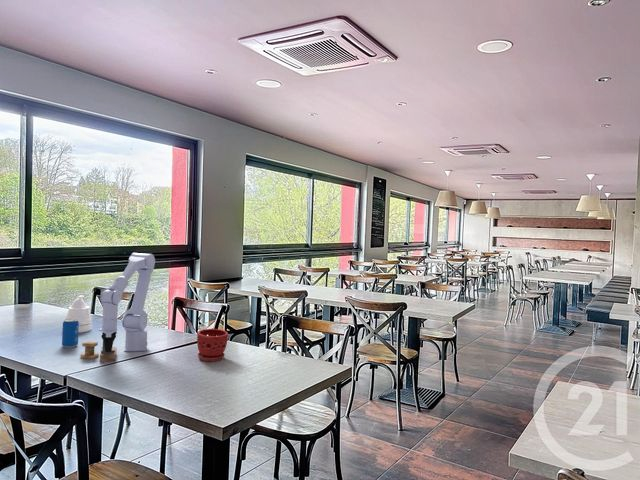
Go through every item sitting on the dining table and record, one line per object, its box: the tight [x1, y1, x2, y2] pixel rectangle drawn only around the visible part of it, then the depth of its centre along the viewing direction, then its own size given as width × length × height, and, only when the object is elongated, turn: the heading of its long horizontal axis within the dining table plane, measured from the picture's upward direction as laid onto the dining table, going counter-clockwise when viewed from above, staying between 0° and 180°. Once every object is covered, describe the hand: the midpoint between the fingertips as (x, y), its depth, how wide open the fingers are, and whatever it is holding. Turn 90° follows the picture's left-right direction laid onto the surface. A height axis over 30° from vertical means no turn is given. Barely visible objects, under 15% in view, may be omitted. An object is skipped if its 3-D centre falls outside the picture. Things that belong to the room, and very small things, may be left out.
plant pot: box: [196, 328, 229, 362], centre depth 209 cm, size 13×13×12 cm
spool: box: [79, 340, 100, 360], centre depth 202 cm, size 7×7×6 cm
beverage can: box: [61, 319, 79, 349], centre depth 216 cm, size 6×6×12 cm
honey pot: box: [64, 295, 92, 333], centre depth 246 cm, size 13×13×18 cm
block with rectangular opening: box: [99, 346, 118, 363], centre depth 202 cm, size 6×12×3 cm, turn 22°
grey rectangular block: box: [101, 340, 112, 354], centre depth 200 cm, size 4×4×7 cm
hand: (108, 350), depth 200 cm, fingers closed on grey rectangular block, 3 cm apart
